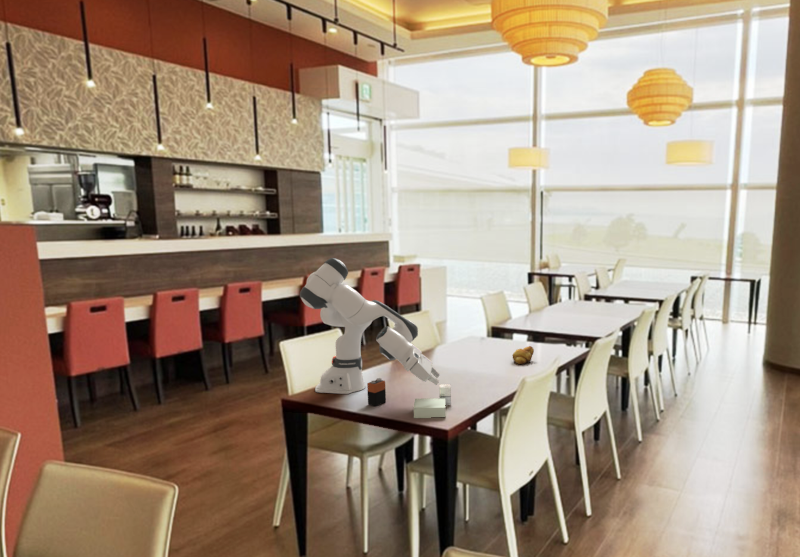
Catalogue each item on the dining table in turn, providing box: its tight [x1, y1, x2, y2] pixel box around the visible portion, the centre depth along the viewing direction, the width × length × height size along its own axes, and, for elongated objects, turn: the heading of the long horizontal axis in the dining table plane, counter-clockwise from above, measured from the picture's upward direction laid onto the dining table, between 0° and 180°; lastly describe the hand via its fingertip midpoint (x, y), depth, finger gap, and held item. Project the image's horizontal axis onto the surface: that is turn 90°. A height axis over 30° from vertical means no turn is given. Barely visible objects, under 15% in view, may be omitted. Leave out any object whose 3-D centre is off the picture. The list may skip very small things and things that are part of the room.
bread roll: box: [512, 345, 535, 365], centre depth 286 cm, size 13×10×8 cm
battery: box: [366, 377, 387, 407], centre depth 227 cm, size 4×7×10 cm, turn 140°
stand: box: [413, 397, 447, 419], centre depth 213 cm, size 12×11×4 cm
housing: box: [438, 383, 452, 406], centre depth 224 cm, size 5×5×8 cm
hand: (438, 379), depth 221 cm, fingers open, 8 cm apart
